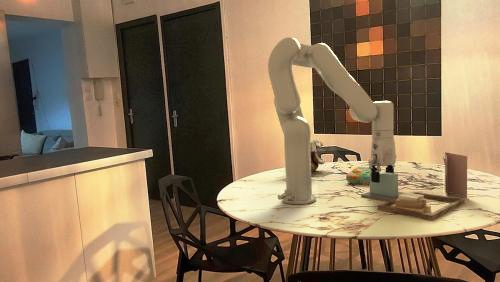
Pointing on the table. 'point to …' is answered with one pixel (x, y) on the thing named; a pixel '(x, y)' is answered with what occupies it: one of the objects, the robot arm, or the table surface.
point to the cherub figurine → (316, 160)
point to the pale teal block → (385, 184)
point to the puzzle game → (359, 175)
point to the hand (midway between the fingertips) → (382, 180)
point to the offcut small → (411, 197)
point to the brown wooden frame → (432, 216)
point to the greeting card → (456, 174)
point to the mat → (380, 196)
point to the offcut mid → (411, 204)
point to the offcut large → (424, 210)
